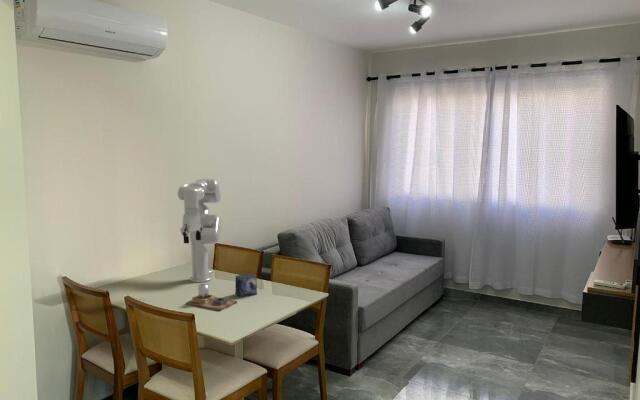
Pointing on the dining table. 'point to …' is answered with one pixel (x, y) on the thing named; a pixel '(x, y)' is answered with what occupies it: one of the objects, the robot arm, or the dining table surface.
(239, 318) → the dining table surface
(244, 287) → the small box
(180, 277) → the dining table surface
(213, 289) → the dining table surface
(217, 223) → the robot arm
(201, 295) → the pipe fitting
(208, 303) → the fitting board
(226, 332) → the dining table surface
